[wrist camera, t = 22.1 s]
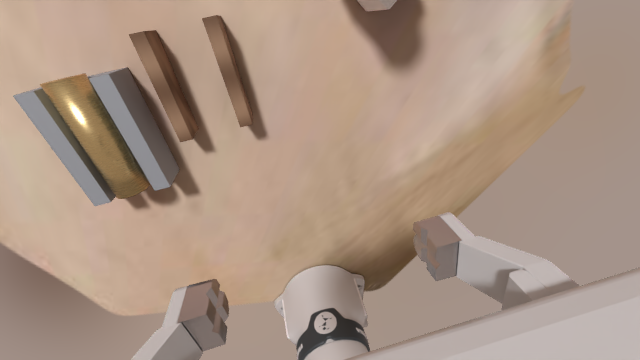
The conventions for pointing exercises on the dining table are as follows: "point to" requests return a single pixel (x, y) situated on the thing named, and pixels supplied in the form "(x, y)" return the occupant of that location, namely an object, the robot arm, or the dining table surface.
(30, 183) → the dining table surface
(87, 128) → the axle
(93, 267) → the dining table surface
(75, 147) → the cradle
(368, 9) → the medicine bottle
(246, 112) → the pair of brown bars
